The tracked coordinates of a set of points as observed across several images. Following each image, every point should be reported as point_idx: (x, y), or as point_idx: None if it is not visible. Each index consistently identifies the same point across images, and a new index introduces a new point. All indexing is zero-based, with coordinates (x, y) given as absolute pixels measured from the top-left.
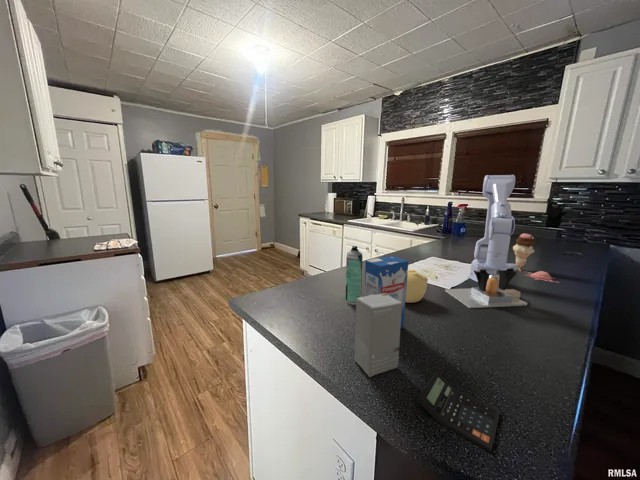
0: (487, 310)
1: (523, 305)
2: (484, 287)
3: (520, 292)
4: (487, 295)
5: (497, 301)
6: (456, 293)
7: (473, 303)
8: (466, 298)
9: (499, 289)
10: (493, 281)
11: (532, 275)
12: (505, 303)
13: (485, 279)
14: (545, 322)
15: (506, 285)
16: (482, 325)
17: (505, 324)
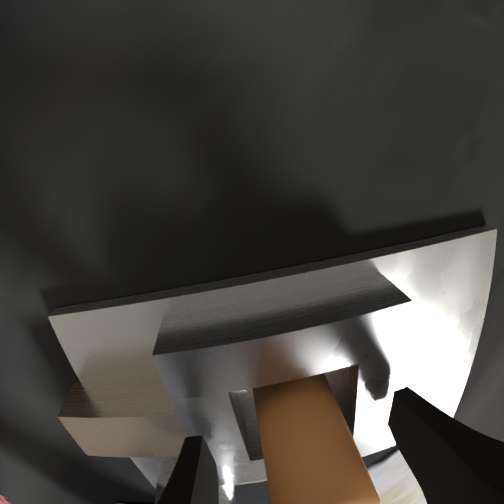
0: (414, 196)
1: (78, 304)
2: (428, 405)
3: (58, 415)
4: (399, 337)
5: (308, 300)
6: (446, 389)
7: (462, 269)
8: (449, 338)
9: None
10: (362, 489)
11: (2, 501)
12: (224, 301)
13: (495, 451)
14: (89, 34)
15: (182, 474)
16: (500, 37)
17: (402, 7)
